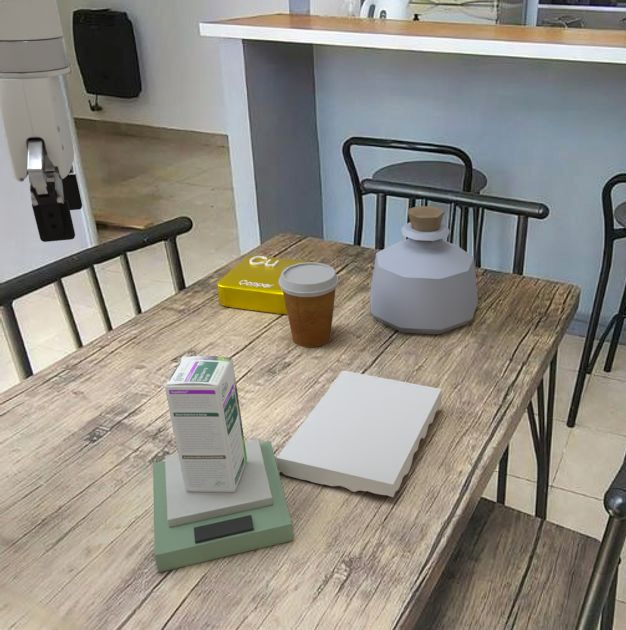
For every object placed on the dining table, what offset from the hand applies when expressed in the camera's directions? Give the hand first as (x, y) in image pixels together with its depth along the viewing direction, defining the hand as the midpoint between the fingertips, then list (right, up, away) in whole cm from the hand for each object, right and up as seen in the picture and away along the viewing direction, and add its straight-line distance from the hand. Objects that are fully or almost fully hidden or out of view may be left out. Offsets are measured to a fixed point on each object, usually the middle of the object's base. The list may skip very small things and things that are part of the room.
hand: (63, 223), depth 74 cm
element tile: (+11, -6, +55) cm, 56 cm away
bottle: (+39, -9, +50) cm, 64 cm away
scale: (+16, -32, +5) cm, 36 cm away
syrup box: (+16, -29, +4) cm, 33 cm away
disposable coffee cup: (+21, -14, +40) cm, 47 cm away
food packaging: (+32, -27, +16) cm, 45 cm away
